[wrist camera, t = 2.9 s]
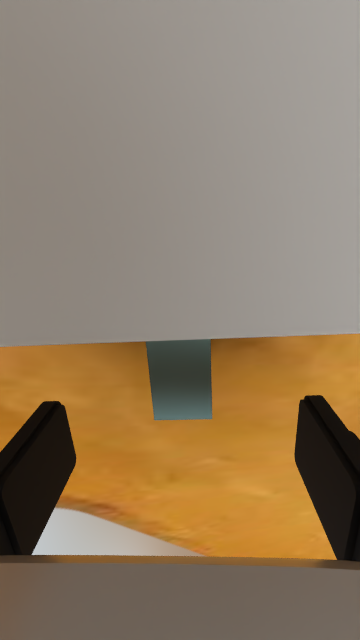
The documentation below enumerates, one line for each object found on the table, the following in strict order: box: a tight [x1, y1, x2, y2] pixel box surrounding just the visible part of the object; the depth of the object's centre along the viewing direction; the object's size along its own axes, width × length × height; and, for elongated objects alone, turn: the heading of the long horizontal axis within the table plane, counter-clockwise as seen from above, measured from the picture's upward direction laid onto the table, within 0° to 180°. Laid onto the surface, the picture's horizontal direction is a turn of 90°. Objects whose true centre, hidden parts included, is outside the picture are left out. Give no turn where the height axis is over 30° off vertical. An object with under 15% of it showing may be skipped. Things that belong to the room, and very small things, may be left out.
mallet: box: [146, 339, 212, 420], centre depth 14 cm, size 19×3×7 cm, turn 3°
